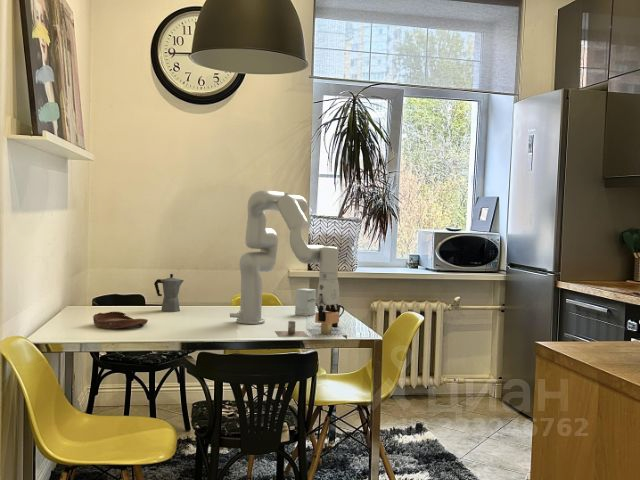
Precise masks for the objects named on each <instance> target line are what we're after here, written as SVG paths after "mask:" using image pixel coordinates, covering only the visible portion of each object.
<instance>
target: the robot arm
mask: <svg viewBox="0 0 640 480" xmlns="http://www.w3.org/2000/svg"><path fill="white" fill-rule="evenodd" d="M307 209H308V203H307V199H305V198H304V197H303V196H301V195H297V194H291V193H289V192H284V191H272V190H258V191H255V192H253V193H252V194H251V195H250V197H249V198H248V201H247V221H246V229H245V239H244V240H245V241H244V242H245V245H246V247H247V248H249V249H251V250H260V251H248V252H244V254H242V255H241V256H240V257H239V264H238V265H239V269H240V270H239V271H240V281H241V282H240V307H239V308H240V309H239V311H238V312H235V313H234V312H230V313H229V318H234V319H235V318H236V320H235V321H236V323H238V324H245V325H246V324H247V325H259V324H260V325H261V324H264V323H265V322H266V321H265V319H264V318H262V306H263V304H262V302H263V281H262V277H261V274H262V273H269V272H271V271H272V270H273V269H274V268H275V266H276V261H277V251H278V244H279V239H278V235H277V232H276V231H275V230H274V229H273V228H270V227H267V216H266V213H265V211H277V212H279V213H280V215H281V217H282V218H283V221H284V222H285V224H286V226H287V228H288V230H289V246H290V249H291V251H292V253H293V254H294V255H295V257H296V259H297V260H298V261H299V263H302V264H305V265H306V264H319V273H318V274H319V275H318V287H317V293H316V295H317V296H316V302H315V307H316V308H317V312H318V321H322V322H325V319H326V312H325V309H326V305H329V307H330V309H329V312H336V310H337V306H338V304H340V284H339V283H340V282H339V280H338V276H339V248H338V247H336V246H326V245H321V244H307V243H306V241H305V239H304V237H303V234H302V233H303V231H305V230H306V228H307V227H308V225H309V221H308V219H307V218H306V216H305V213H306V212H307ZM260 273H261V274H260ZM322 306H323V307H322Z"/></svg>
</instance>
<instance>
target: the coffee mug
mask: <svg viewBox="0 0 640 480" xmlns="http://www.w3.org/2000/svg"><path fill="white" fill-rule="evenodd" d="M322 307H323V306H322ZM329 309H330V307H329V305H326V309H325V311H329ZM341 309H342V312H341ZM344 311H345V307H344V306H342V304H341V303H338V306H337V310H336V312H338V313H339V318H340V317H342V315H343V314H344ZM340 312H341V313H340ZM338 325H339V323H334V324H332V327H335V328H338Z"/></svg>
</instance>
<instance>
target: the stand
mask: <svg viewBox="0 0 640 480" xmlns="http://www.w3.org/2000/svg"><path fill="white" fill-rule="evenodd" d="M274 333H275V334H276V335H277V337H281V338H285V337H286V338H287V337H288V338H290V337H291V338H292V337H293V338H294V337H295V338H296V337H297V338H298V337H299V338H300V337H303V338H305V337H307V338H309V335H308V334H307V333H306V332H305V331H304V330H300V331H299V330H296V320H289V321H288V323H287V330H274Z"/></svg>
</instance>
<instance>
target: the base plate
mask: <svg viewBox="0 0 640 480" xmlns="http://www.w3.org/2000/svg"><path fill="white" fill-rule="evenodd" d="M306 330H307V331H308V332H309V334H310V335H312V336H342V337H343V338H345V339H346V340H347V339H348V335H347V334H346V333H345V332H344V331H342V330H341V329H339V328H336V329H335V328H332V324H323V323H320V328H317V329H316V328H306Z"/></svg>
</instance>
